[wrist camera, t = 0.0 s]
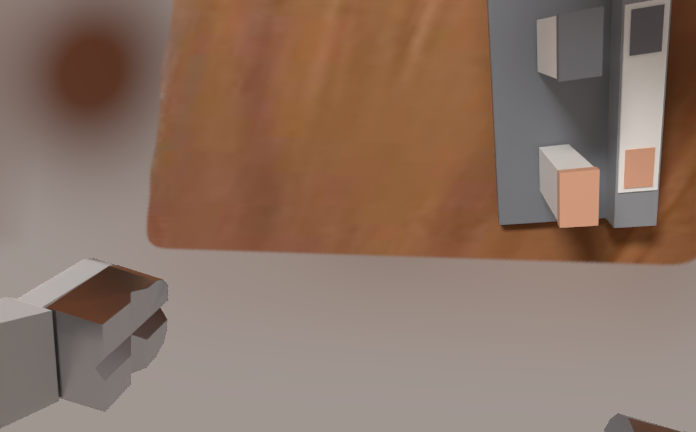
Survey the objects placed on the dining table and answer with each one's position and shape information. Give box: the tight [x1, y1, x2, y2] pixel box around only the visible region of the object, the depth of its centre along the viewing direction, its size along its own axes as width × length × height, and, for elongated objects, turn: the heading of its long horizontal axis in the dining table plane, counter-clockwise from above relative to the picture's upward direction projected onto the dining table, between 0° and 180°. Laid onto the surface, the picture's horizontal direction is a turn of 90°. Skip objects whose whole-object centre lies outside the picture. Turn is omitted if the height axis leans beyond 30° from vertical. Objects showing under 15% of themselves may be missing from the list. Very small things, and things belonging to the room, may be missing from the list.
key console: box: [487, 0, 672, 228], centre depth 47 cm, size 26×16×5 cm, turn 9°
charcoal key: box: [537, 6, 604, 82], centre depth 41 cm, size 3×5×11 cm, turn 9°
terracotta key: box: [539, 144, 600, 228], centre depth 46 cm, size 3×5×11 cm, turn 9°
